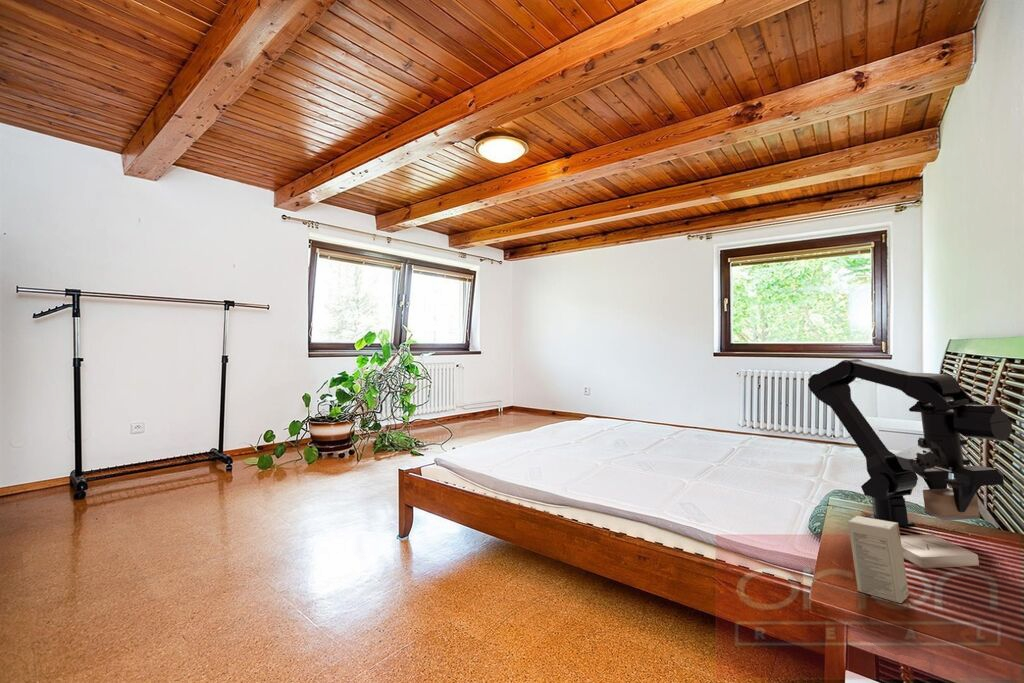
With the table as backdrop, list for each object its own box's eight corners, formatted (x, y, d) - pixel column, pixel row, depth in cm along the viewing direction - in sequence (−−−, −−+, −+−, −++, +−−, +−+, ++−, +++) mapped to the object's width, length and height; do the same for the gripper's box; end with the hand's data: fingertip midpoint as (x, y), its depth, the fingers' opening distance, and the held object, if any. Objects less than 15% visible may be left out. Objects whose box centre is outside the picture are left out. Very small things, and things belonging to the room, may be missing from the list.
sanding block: (925, 513, 97) (922, 489, 98) (959, 511, 97) (956, 487, 97) (943, 520, 93) (940, 495, 93) (979, 518, 92) (976, 493, 93)
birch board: (883, 546, 95) (881, 536, 95) (933, 543, 94) (931, 534, 94) (922, 568, 85) (921, 557, 85) (979, 565, 84) (977, 554, 84)
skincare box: (909, 595, 76) (901, 522, 77) (901, 605, 74) (892, 529, 74) (864, 582, 82) (856, 513, 82) (854, 590, 79) (847, 520, 80)
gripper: (870, 430, 106) (878, 497, 105) (939, 444, 87) (950, 526, 86) (920, 426, 105) (928, 494, 104) (1001, 440, 86) (1012, 523, 85)
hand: (950, 508), depth 95 cm, fingers closed on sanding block, 4 cm apart
